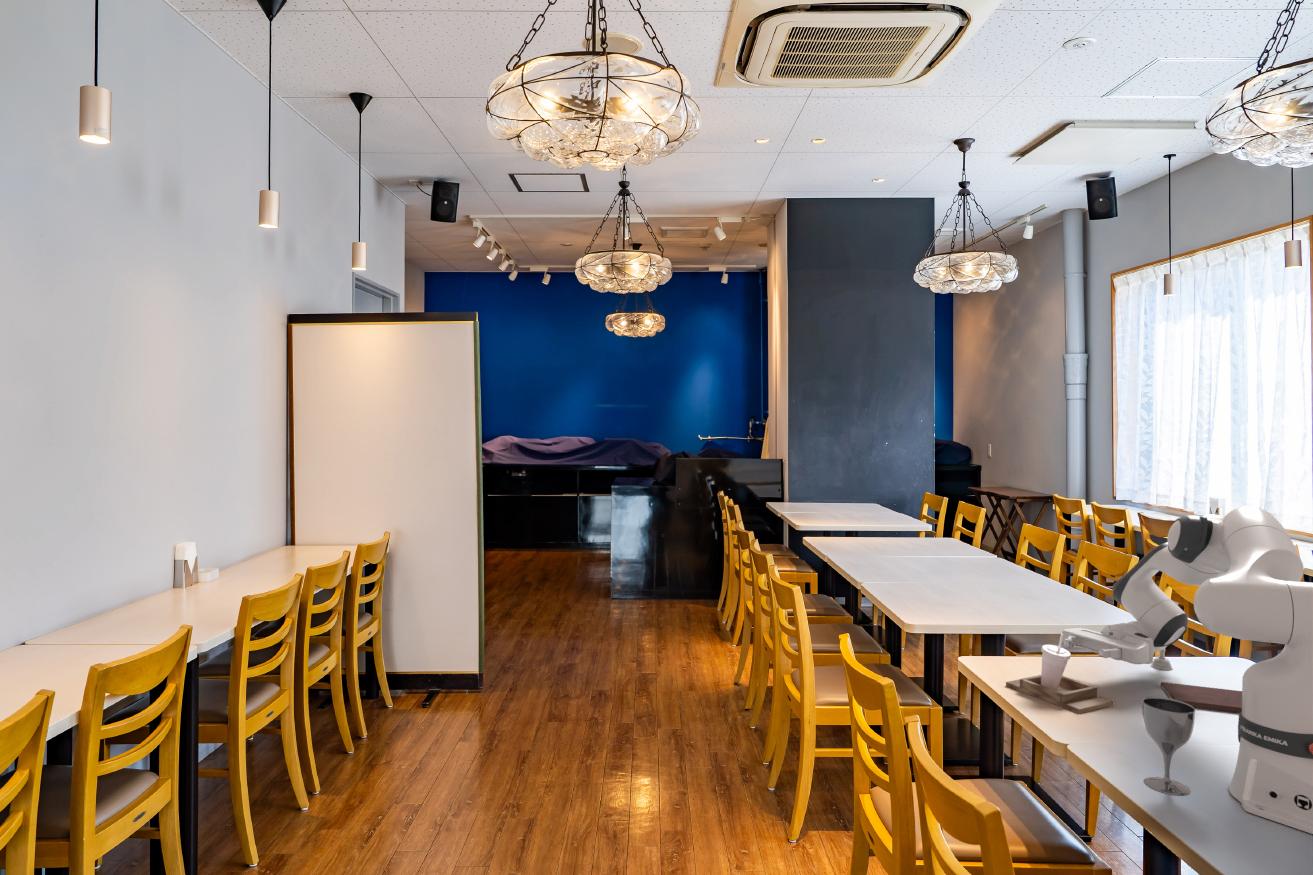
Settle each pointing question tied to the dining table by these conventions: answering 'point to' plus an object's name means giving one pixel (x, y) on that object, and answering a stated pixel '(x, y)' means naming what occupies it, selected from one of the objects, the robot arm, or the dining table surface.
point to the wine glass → (1168, 736)
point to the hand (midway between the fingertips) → (1083, 648)
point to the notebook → (1205, 697)
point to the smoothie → (1053, 664)
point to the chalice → (1162, 660)
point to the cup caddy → (1063, 693)
